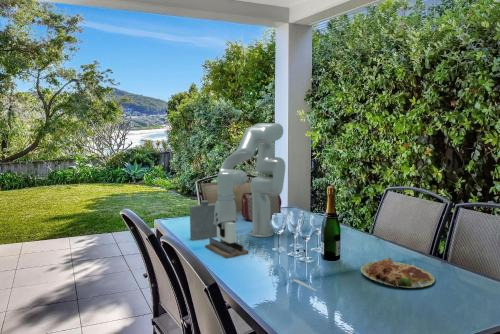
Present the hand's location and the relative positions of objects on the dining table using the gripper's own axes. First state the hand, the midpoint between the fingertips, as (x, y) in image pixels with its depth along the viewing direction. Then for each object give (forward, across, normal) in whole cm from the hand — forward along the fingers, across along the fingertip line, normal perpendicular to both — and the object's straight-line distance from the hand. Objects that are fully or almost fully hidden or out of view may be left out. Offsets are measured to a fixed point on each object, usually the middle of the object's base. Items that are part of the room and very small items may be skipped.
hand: (225, 235), depth 199 cm
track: (+7, 0, 0) cm, 7 cm away
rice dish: (+8, -38, +67) cm, 78 cm away
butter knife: (+8, -3, +60) cm, 61 cm away
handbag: (+7, -53, -43) cm, 69 cm away
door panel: (+2, 0, 0) cm, 2 cm away
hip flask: (+7, -2, -25) cm, 26 cm away
